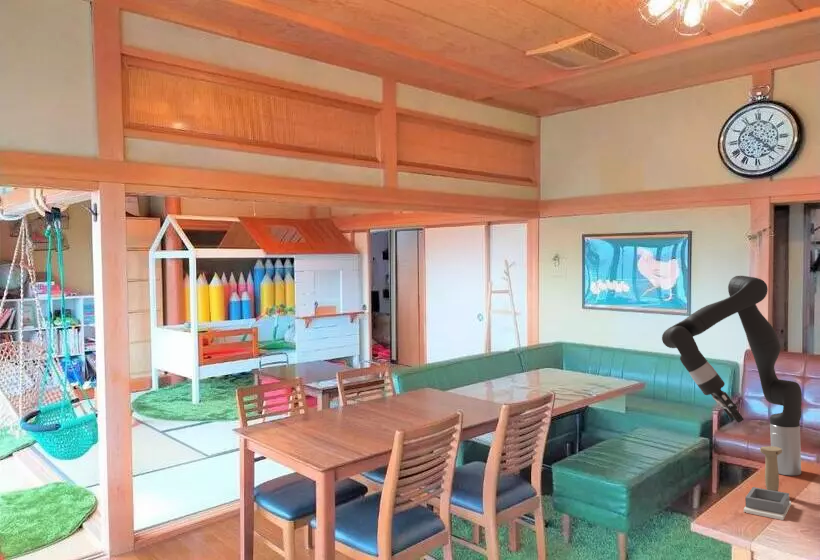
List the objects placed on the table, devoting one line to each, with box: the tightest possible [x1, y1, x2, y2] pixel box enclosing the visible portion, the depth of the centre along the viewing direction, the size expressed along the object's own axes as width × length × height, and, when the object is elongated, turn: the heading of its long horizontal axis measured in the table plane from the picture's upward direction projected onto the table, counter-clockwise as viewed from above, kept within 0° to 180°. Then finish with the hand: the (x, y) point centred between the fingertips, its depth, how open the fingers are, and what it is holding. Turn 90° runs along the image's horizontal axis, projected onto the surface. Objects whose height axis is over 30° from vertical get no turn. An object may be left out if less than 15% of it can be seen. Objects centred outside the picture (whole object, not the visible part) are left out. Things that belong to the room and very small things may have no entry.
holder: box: [743, 486, 792, 521], centre depth 187 cm, size 15×10×4 cm
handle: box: [759, 445, 782, 492], centre depth 198 cm, size 5×6×15 cm
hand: (737, 418), depth 201 cm, fingers open, 8 cm apart
